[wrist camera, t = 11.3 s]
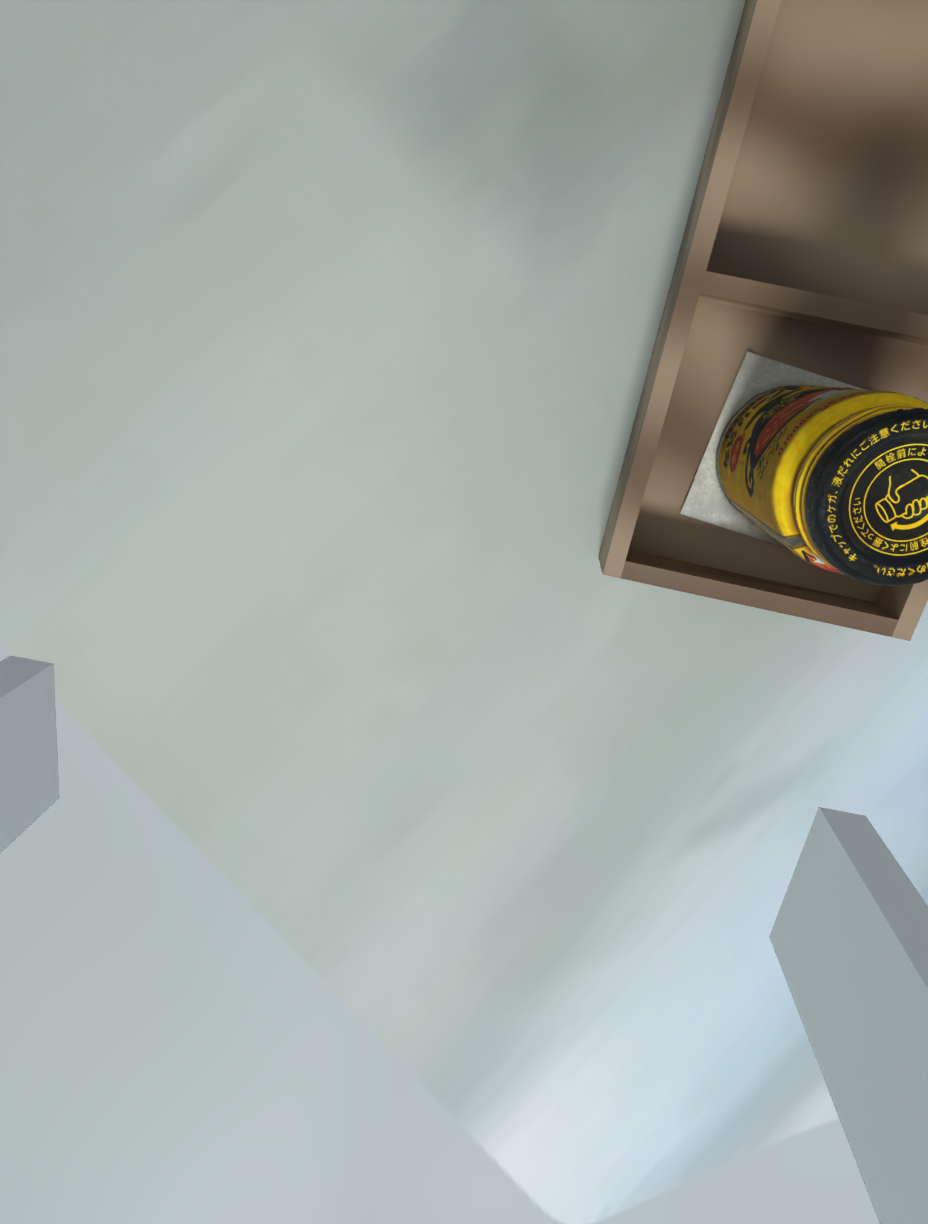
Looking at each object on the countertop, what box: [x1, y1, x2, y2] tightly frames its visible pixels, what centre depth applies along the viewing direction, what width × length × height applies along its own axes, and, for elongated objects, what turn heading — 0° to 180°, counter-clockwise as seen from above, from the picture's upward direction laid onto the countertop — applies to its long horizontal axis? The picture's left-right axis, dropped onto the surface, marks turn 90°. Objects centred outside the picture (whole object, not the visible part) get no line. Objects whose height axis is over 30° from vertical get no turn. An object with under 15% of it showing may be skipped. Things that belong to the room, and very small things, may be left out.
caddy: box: [599, 0, 928, 641], centre depth 30 cm, size 24×14×3 cm, turn 169°
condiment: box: [680, 351, 928, 587], centre depth 27 cm, size 7×8×12 cm
